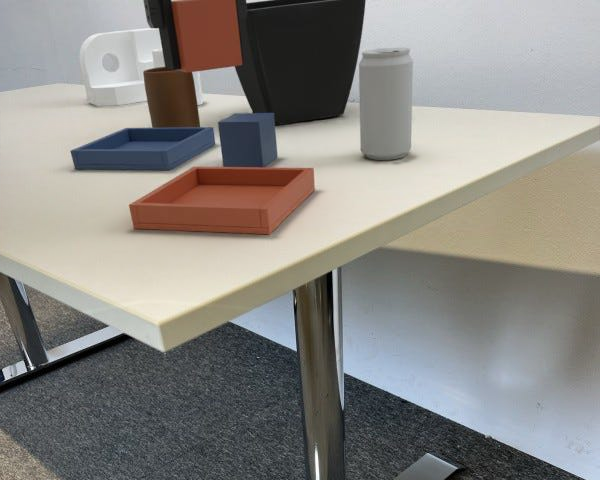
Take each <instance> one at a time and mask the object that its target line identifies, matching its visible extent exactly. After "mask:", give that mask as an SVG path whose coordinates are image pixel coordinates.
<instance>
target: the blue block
mask: <svg viewBox="0 0 600 480" xmlns="http://www.w3.org/2000/svg"><path fill="white" fill-rule="evenodd" d="M217 126H218V135H219V142H220V150H221V151H220V152H221V158H222V165H223V166H222V167H266V166H268V165H269V164H271V163H272V162H273V161H275V160H276V159H278V158H279V157H278V155H279V154H278V145H277V134H276V125H275V119H274V113H253V112H245V113H244V112H240V113H239V112H237V113H233V114H231V115H229V116H227V117H225V118H223V119H221V120H219V121H217Z"/></svg>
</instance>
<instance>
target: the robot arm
mask: <svg viewBox="0 0 600 480" xmlns="http://www.w3.org/2000/svg"><path fill="white" fill-rule="evenodd" d="M171 1H172V0H143V6H144V12H145V19H146V23H147V25H148V27H149V28H155V29H159V33H160V39H161V45H162V51H163V57H164V63H165V68H168V69H172V70H177V69H181V62H180V56H179V49H178V43H177V36H176V30H175V23H174V17H173V10H172V4H171ZM235 2H236V11H237V20H238V29H239V39H240V48H241V57H242V61H244V57H243V48H242V39H241V30H240V21H239V19H245V18H246V16H247V5H246V4H247V3H248V2H247V0H235Z"/></svg>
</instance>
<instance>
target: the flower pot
mask: <svg viewBox="0 0 600 480" xmlns="http://www.w3.org/2000/svg"><path fill="white" fill-rule="evenodd" d="M366 2H367V1H366V0H259V1H253V2H246V3H247V4H246V5H247V16H246V18H245V19H239V21H240V30H241V39H242V48H243V57H244V61H242V65H241V66H234V69H235V72H236V75H237V78H238V80H239V83H240V86H241V88H242V91H243V93H244V96H245V98H246V101H247V103H248V106H249V107H250V111H251V113H274V119H275V126H279V125H284V124H285V125H286V124H292V123H299V122H306V121H312V120H317V119H318V120H319V119H324V118H330V117H331V118H332V117H337V116H341V115H342V116H343V115H344V113H345V112H346V111H345V110H346V108H347V104H348V101H349V98H350V95H351V90H352V87H353V82H354V78H355V73H356V69H357V64H358V60H359V55H360V49H361V43H362V36H363V29H364V28H363V27H364V22H365V21H364V20H365V11H366Z"/></svg>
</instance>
